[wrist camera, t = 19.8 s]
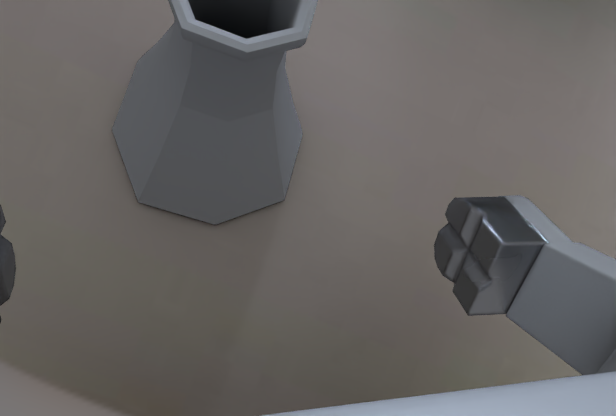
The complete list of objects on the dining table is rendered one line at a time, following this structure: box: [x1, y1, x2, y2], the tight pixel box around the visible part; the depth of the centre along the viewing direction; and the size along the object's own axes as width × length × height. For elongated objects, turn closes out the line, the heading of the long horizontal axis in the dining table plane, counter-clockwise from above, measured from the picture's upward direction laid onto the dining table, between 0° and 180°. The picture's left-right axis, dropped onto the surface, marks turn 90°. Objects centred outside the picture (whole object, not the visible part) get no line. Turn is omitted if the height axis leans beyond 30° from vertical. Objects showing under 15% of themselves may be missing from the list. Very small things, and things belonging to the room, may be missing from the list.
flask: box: [112, 0, 318, 225], centre depth 14 cm, size 7×7×10 cm
